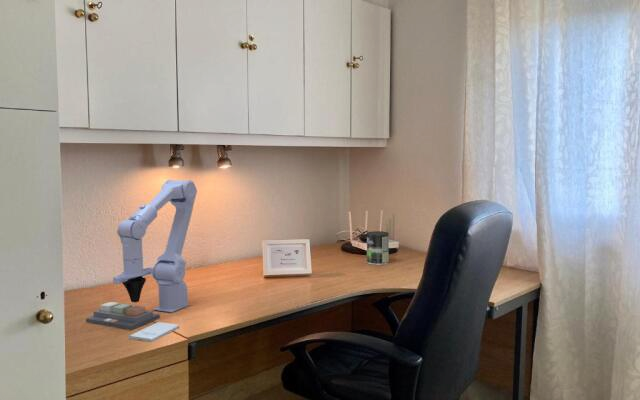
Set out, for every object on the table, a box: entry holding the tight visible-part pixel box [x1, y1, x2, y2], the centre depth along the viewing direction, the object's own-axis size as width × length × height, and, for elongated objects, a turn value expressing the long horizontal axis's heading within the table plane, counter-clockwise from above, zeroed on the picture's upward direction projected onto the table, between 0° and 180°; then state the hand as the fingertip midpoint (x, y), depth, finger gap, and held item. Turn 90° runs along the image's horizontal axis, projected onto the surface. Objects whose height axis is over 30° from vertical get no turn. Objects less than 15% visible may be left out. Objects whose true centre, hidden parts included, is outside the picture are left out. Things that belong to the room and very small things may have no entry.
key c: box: [126, 305, 146, 317], centre depth 162 cm, size 4×4×2 cm
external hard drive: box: [128, 321, 180, 343], centre depth 152 cm, size 2×8×12 cm
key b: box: [113, 303, 133, 315], centre depth 164 cm, size 4×4×2 cm
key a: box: [99, 301, 120, 313], centre depth 166 cm, size 4×4×2 cm
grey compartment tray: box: [85, 308, 161, 331], centre depth 164 cm, size 12×19×3 cm, turn 65°
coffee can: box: [366, 230, 390, 266], centre depth 241 cm, size 10×10×14 cm
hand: (135, 301), depth 161 cm, fingers closed
